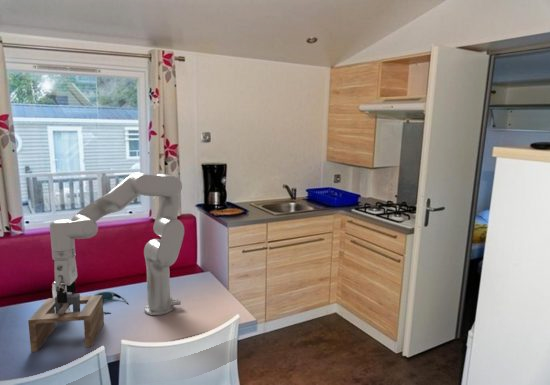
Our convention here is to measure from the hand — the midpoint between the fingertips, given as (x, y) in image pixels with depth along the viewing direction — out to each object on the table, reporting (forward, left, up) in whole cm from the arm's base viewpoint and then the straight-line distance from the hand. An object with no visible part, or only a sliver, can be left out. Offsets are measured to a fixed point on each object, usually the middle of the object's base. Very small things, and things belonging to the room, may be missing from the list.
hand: (67, 297), depth 143 cm
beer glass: (+8, -18, -16) cm, 25 cm away
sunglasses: (-8, -25, -16) cm, 31 cm away
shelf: (0, 0, -16) cm, 16 cm away
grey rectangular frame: (0, 0, -9) cm, 9 cm away
